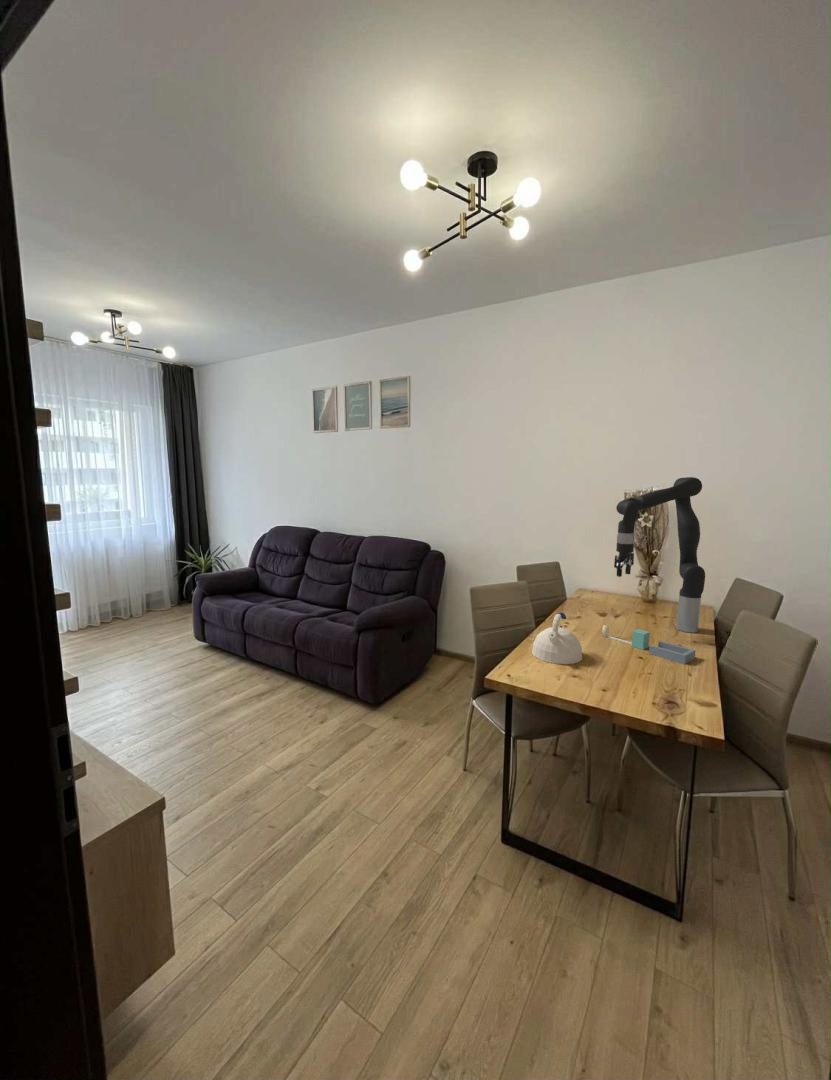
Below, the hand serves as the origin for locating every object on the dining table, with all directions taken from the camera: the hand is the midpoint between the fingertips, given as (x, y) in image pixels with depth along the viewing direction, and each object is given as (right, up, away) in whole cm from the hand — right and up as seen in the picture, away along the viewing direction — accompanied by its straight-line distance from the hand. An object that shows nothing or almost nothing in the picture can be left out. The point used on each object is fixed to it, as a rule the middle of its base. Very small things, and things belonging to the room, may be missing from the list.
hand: (623, 575), depth 216 cm
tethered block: (-6, -29, -12) cm, 32 cm away
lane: (+7, -32, -28) cm, 43 cm away
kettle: (-41, -32, -28) cm, 59 cm away
